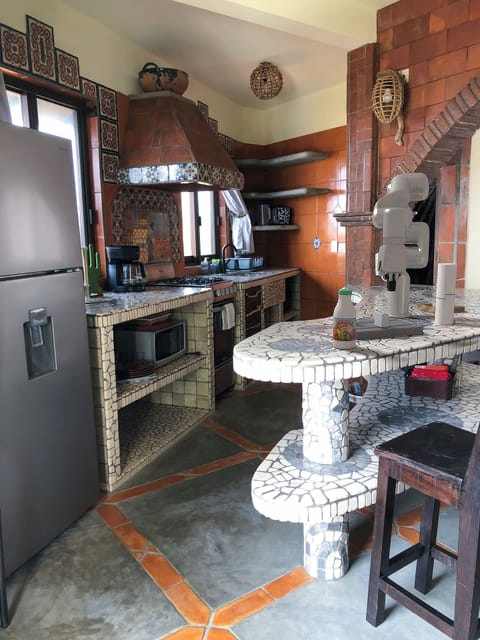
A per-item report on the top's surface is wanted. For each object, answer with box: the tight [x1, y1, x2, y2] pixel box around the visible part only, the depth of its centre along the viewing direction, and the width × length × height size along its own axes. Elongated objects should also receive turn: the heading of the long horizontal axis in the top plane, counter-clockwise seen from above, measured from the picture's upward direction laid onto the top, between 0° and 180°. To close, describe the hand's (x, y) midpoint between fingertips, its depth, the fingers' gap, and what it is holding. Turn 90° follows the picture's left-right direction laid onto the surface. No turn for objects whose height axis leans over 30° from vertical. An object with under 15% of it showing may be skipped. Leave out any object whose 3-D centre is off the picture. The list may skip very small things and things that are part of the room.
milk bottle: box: [332, 288, 357, 350], centre depth 159 cm, size 8×8×20 cm
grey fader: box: [373, 310, 390, 327], centre depth 177 cm, size 5×3×5 cm, turn 14°
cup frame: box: [417, 302, 466, 314], centre depth 227 cm, size 15×15×2 cm
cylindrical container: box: [434, 262, 458, 326], centre depth 195 cm, size 7×7×25 cm
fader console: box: [356, 317, 424, 341], centre depth 183 cm, size 19×28×3 cm
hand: (391, 290), depth 176 cm, fingers closed
